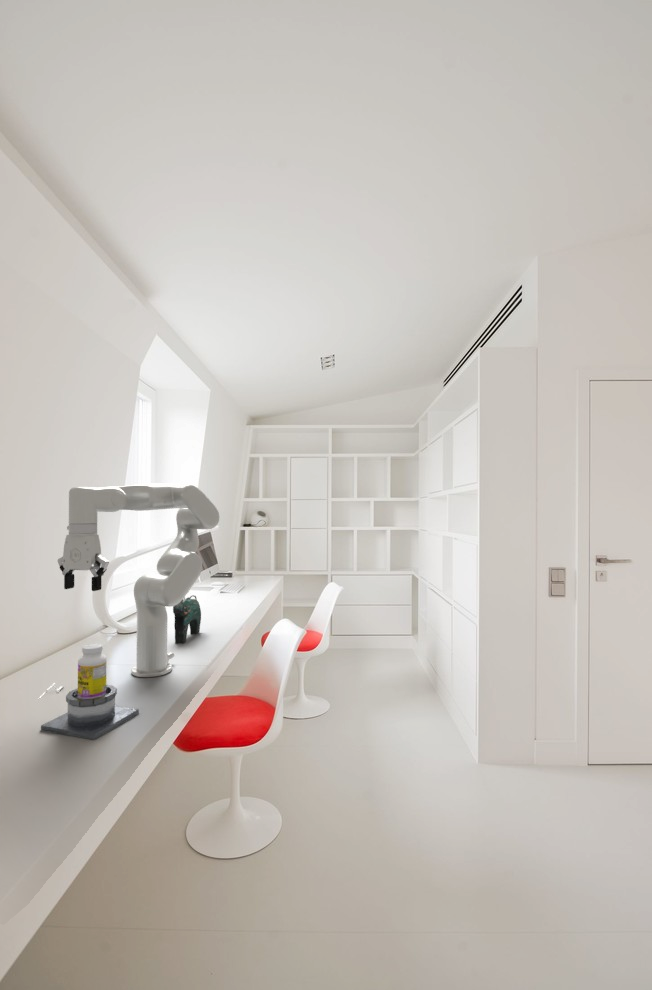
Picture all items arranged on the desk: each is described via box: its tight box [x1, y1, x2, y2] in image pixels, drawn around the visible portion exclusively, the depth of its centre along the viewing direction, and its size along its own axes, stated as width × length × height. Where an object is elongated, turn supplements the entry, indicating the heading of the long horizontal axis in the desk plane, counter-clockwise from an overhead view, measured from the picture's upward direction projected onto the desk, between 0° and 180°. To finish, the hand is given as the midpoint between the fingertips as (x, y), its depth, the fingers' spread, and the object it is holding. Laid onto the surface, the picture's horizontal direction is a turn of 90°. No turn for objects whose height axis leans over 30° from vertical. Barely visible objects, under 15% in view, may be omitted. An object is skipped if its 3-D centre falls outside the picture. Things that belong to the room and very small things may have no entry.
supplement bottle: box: [77, 643, 107, 699], centre depth 134 cm, size 7×7×13 cm
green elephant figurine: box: [172, 590, 202, 645], centre depth 215 cm, size 20×6×20 cm, turn 171°
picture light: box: [37, 682, 65, 700], centre depth 156 cm, size 14×4×2 cm, turn 9°
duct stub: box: [40, 684, 140, 741], centre depth 134 cm, size 16×16×7 cm
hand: (82, 589), depth 153 cm, fingers open, 9 cm apart
